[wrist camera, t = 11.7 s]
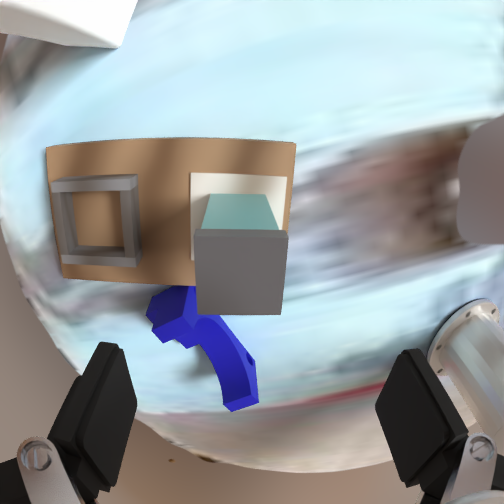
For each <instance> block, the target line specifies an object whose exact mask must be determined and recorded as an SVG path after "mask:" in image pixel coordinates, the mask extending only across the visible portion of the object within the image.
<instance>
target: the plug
mask: <svg viewBox="0 0 504 504" xmlns="http://www.w3.org/2000/svg"><path fill="white" fill-rule="evenodd" d="M193 239H194V263H195V282H196V299H197V314H198V315H281V309H282V300H283V290H284V280H285V270H286V260H287V249H288V235H287V233H286V231H285V230H279V227H278V225H277V222H276V220H275V217H274V215H273V212H272V210H271V207H270V205H269V202H268V200H267V197H266V195H265V194H212V193H211V195H210V198H209V202H208V205H207V209H206V212H205V216H204V220H203V223H202V227H201V229H196V230H195V233H194V236H193Z"/></svg>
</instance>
